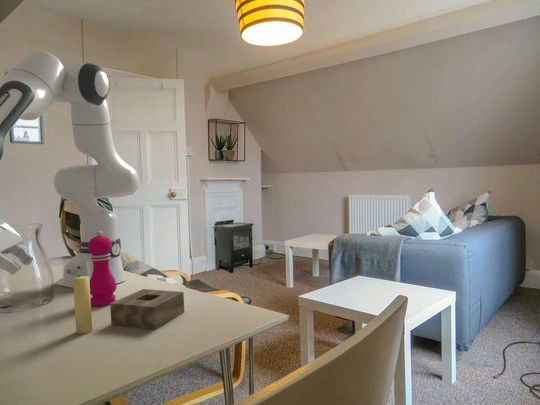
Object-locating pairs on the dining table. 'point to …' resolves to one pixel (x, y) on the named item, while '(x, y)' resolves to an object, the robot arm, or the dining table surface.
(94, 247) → the pepper mill
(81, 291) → the dowel
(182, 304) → the socket block
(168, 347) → the dining table surface
